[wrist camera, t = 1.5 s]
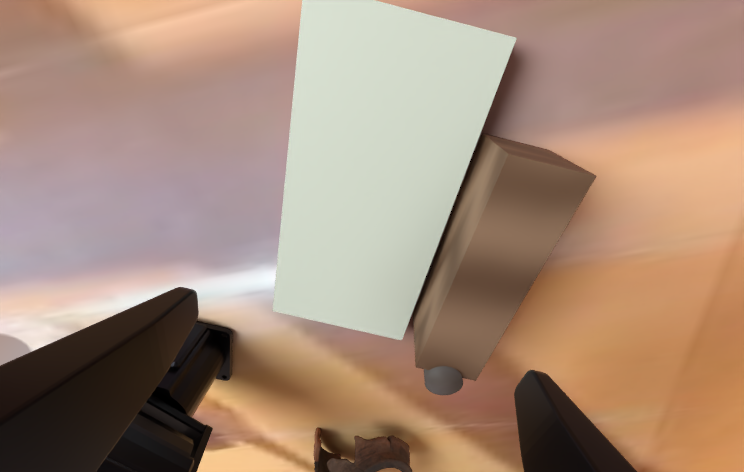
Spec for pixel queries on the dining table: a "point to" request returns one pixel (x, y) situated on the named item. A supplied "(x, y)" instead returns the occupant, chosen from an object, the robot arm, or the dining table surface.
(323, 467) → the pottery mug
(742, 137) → the dining table surface
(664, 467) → the dining table surface
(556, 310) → the dining table surface
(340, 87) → the pale green flat block
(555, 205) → the folding leg
